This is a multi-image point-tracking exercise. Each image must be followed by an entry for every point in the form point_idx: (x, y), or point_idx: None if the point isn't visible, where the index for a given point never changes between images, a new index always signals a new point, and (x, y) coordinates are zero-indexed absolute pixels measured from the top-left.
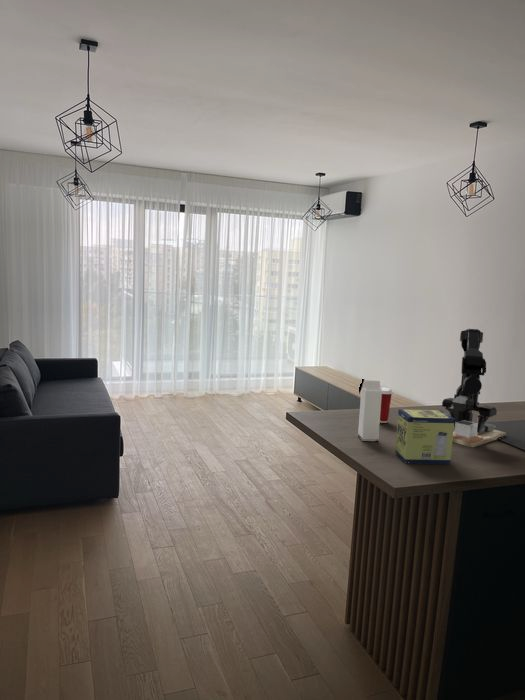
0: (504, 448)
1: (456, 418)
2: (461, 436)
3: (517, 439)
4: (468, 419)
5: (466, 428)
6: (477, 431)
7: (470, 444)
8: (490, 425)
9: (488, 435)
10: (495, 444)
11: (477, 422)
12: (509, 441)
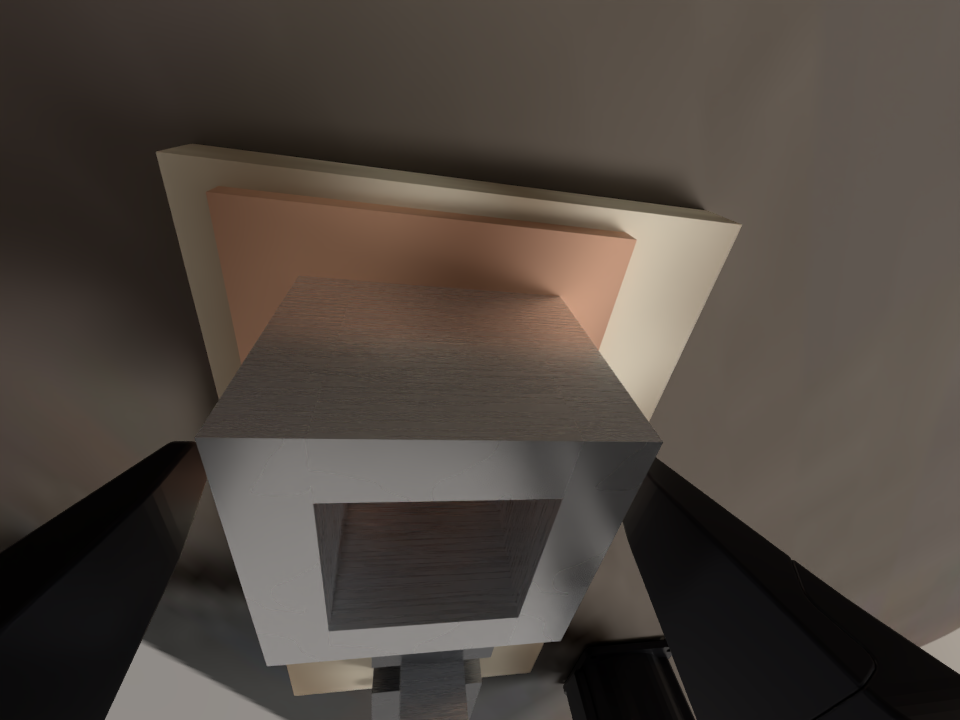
0: (10, 449)
1: (685, 603)
2: (442, 290)
3: (208, 668)
4: (587, 701)
5: (347, 377)
6: (173, 450)
7: (217, 152)
8: (373, 713)
9: None
10: None
11: (456, 696)
12: (195, 615)
